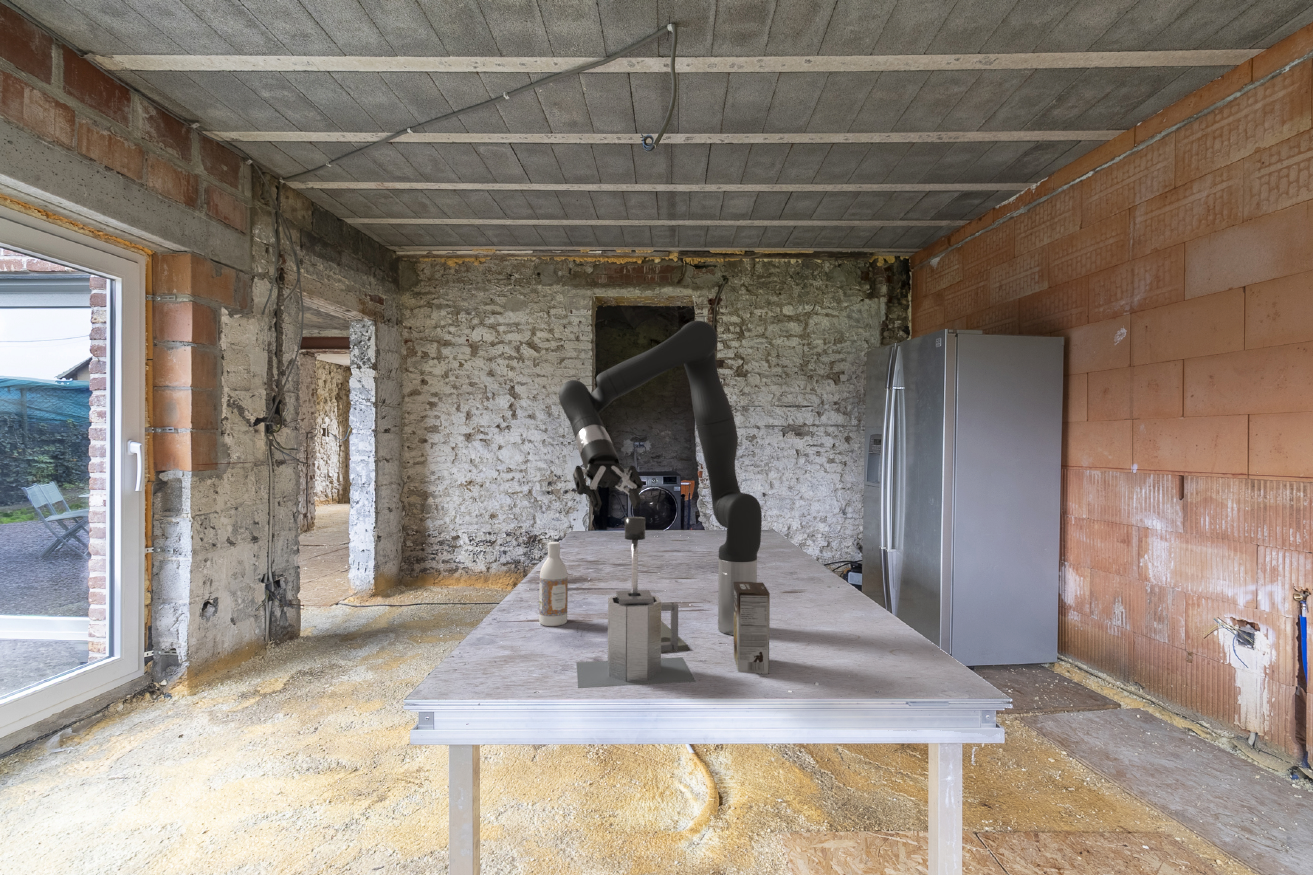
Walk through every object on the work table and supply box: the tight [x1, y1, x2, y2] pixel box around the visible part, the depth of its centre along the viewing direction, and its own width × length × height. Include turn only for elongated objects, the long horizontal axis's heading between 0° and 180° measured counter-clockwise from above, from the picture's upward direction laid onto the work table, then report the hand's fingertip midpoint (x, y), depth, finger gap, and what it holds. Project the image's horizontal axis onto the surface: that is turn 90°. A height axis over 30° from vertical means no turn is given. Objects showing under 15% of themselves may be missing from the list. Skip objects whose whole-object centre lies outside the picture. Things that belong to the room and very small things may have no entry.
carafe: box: [607, 589, 679, 682], centre depth 120 cm, size 14×10×15 cm
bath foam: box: [538, 541, 569, 627], centre depth 152 cm, size 7×7×20 cm
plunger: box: [624, 516, 646, 606], centre depth 119 cm, size 7×7×21 cm
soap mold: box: [661, 620, 690, 654], centre depth 140 cm, size 10×20×4 cm, turn 17°
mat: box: [576, 656, 697, 689], centre depth 119 cm, size 22×13×1 cm, turn 99°
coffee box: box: [733, 581, 771, 675], centre depth 124 cm, size 9×6×16 cm
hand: (618, 506), depth 124 cm, fingers open, 8 cm apart
